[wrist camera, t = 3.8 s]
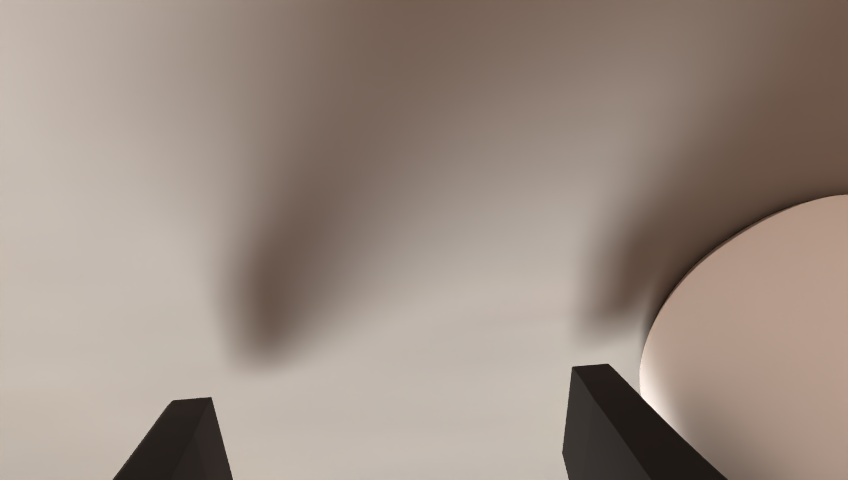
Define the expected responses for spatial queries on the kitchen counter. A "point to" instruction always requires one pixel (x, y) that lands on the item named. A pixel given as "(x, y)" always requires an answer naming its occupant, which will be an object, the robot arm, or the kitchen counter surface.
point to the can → (760, 349)
